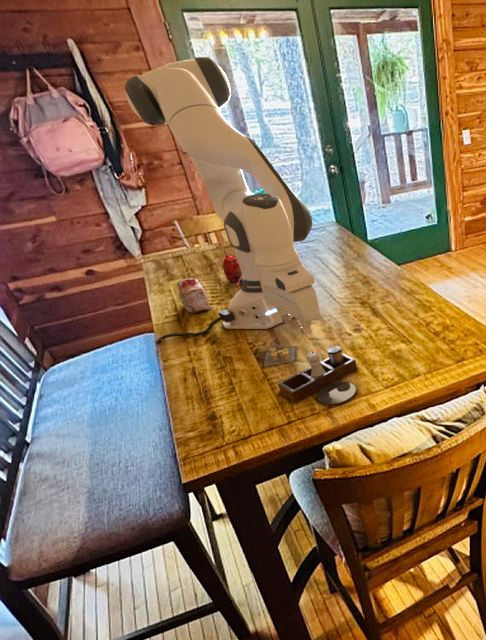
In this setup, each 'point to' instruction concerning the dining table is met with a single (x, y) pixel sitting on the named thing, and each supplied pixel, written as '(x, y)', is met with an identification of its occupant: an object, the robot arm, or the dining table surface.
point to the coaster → (337, 393)
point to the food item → (193, 295)
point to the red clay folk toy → (231, 266)
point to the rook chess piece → (315, 364)
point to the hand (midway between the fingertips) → (296, 327)
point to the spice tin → (335, 356)
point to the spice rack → (317, 383)
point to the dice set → (279, 356)
